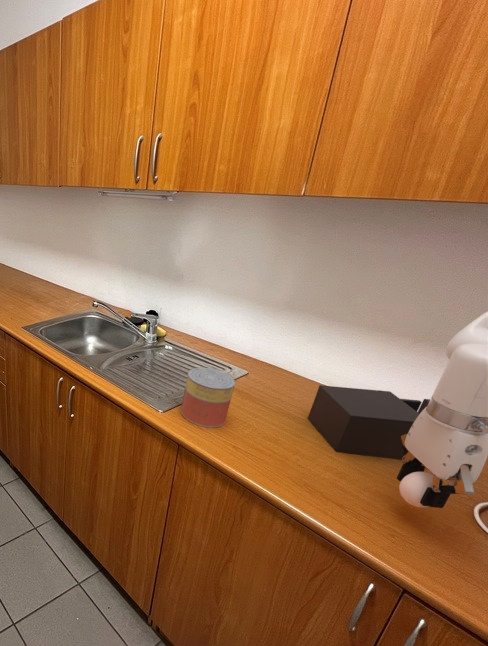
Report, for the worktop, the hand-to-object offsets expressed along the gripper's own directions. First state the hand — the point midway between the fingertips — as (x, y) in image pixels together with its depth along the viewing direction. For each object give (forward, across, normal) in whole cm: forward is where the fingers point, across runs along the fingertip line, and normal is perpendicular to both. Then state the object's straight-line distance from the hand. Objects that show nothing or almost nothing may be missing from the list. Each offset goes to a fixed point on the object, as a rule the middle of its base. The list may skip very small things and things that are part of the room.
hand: (418, 492), depth 75 cm
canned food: (+6, +29, +30) cm, 42 cm away
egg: (+3, 0, 0) cm, 3 cm away
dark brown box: (+7, +26, -5) cm, 27 cm away
